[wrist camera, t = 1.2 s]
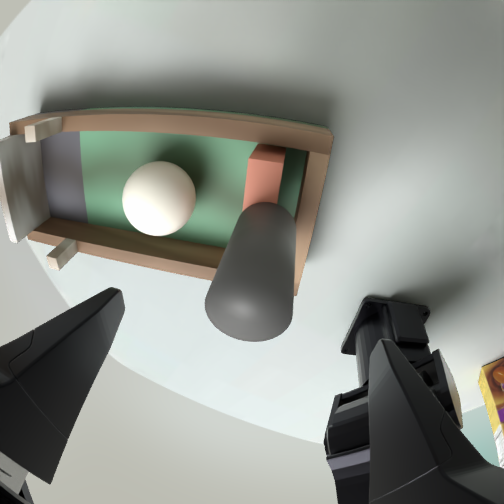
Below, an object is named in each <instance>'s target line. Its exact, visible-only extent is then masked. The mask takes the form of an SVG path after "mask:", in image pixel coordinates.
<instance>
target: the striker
mask: <svg viewBox="0 0 504 504" xmlns="http://www.w3.org/2000/svg"><path fill="white" fill-rule="evenodd" d="M285 153H286V148H285V147H279V146H273V145H266V144H260V143H258V144H257V146H256V147H255V149H254V151H253V152H252V154H251V155H250V157H249V159H248V167H247V175H246V184H245V192H244V201H243V210H242V213H241V214H240V216H239V218H238V221H237V223H236V225H235V228H234V230H233V232H232V235H231V237H230V240H229V242H228V244H227V247H226V249H225V252H224V254H223V256H222V259H221V261H220V264H219V266H218V268H217V271H216V273H215V276H214V278H213V281H212V283H211V286H210V288H209V291H208V293H207V295H206V299H205V310H206V313H207V316H208V318H209V319H210V321H211V322H212V323H213V325H214V326H215V327H216V328H218V329H219V330H220V331H221V332H223V333H225V334H226V335H228V336H230V337H233V338H236V339H239V340H243V341H251V342H258V341H266V340H270V339H272V338H275V337H277V336H279V335H280V334H282V333H283V332H284V331H285V330H286V329H287V328H288V326H289V325H290V323H291V320H292V315H293V298H294V278H295V255H296V224H295V221H294V219H293V217H292V215H291V214H290V213H289V212H288V211H287V210H286V209H285V208H283V207H282V206H280V205H278V204H277V201H278V195H279V189H280V183H281V177H282V171H283V165H284V159H285Z"/></svg>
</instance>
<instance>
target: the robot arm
mask: <svg viewBox="0 0 504 504" xmlns="http://www.w3.org/2000/svg"><path fill="white" fill-rule="evenodd" d="M366 304H369V305H366ZM124 311H125V305H124V300H123V295H122V291H121V290H120V289H117V288H113V287H110V288H108V289H106V290H104V291H102V292H100V293H98V294H97V295H95V296H93V297H91V298H89V299H87V300H86V301H84V302H82V303H80V304H78V305H76V306H75V307H73V308H71V309H69V310H67V311H66V312H64V313H62V314H60V315H58V316H56V317H55V318H53V319H51V320H49V321H47V322H46V323H44V324H42V325H40V326H39V327H37V328H35V330H32V331H30V332H28V333H26V334H24V335H23V336H21V337H19V338H17V339H15V340H13V341H11V342H9V343H7V344H5V345H3V346H1V347H0V504H34V503H33V500H32V497H31V495H30V492H29V489H28V486H27V483H26V480H25V478H26V476H27V474H28V472H30V473H32V474H33V475H35V476H36V477H38V478H40V479H41V480H43V481H45V482H46V483H48V484H51V482H52V480H53V477H54V474H55V471H56V469H57V466H58V464H59V461H60V458H61V456H62V453H63V451H64V448H65V446H66V444H67V441H68V438H69V436H70V433H71V431H72V429H73V426H74V424H75V422H76V419H77V417H78V415H79V413H80V410H81V408H82V406H83V404H84V402H85V399H86V397H87V395H88V393H89V391H90V388H91V387H92V384H93V382H94V380H95V378H96V376H97V374H98V372H99V370H100V368H101V366H102V364H103V362H104V360H105V358H106V356H107V354H108V352H109V350H110V348H111V345H112V343H113V340H114V338H115V335H116V332H117V330H118V327H119V325H120V322H121V320H122V317H123V315H124ZM424 312H425V313H424ZM429 315H430V309H429V307H427V306H420V305H414V304H407V303H400V302H394V301H386V300H380V299H373V298H366V299H364V300H363V301H362V303H361V305H360V307H359V310H358V312H357V314H356V316H355V318H354V321H353V323H352V325H351V327H350V329H349V331H348V333H347V335H346V338H345V340H344V342H343V344H342V346H341V352H342V353H343V354H349V355H356V359H357V368H358V377H359V388H357V389H354V390H352V391H349V392H347V393H344V394H342V393H341V394H338V395H336V396H335V398H334V402H333V406H332V410H331V414H330V417H329V421H328V425H327V429H326V432H325V438H324V445H325V451H326V455H327V457H326V459H327V462H328V464H329V466H330V468H331V470H332V473H333V476H334V479H335V485H336V492H337V499H338V504H504V468H501V467H497V466H494V465H492V464H490V463H489V462H487V461H486V460H485V459H484V458H483V457H482V456H481V455H480V453H479V452H478V451H477V450H476V449H475V447H474V446H473V445H472V444H471V443H470V441H469V440H468V439H467V438H466V437H465V436H464V434H463V433H462V432H461V431H460V429H462V428H463V423H462V413H461V404H460V398H459V394H458V391H457V388H456V385H455V382H454V379H453V376H452V374H451V372H450V370H449V368H448V366H447V364H446V362H445V360H444V358H443V356H442V354H441V352H440V350H439V349H437V350H435V351H433V352H432V354H431V352H430V349H429V346H428V343H429V339H428V336H427V333H426V330H425V327H424V323H425V322H426V320H427V318H428V317H429Z"/></svg>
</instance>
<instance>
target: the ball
mask: <svg viewBox="0 0 504 504" xmlns="http://www.w3.org/2000/svg"><path fill="white" fill-rule="evenodd" d="M122 203H123V209H124V212H125V215H126V217H127V219H128V220H129V222H130V223H131V224H132V225H133V226H134V227H135V228H136V229H138V230H139V231H141V232H143V233H145V234H148V235H153V236H163V235H168V234H171V233H173V232H176V231H177V230H179V229H180V228H182V227H183V226H184V225H185V224H186V223H187V221H188V220H189V219H190V217H191V215H192V213H193V211H194V207H195V203H196V192H195V187H194V184H193V182H192V180H191V178H190V177H189V175H188V174H187V173H186V172H185V171H184V170H183V169H182V168H181V167H179V166H177V165H175V164H173V163H170V162H165V161H155V162H150V163H147V164H145V165H143V166H141V167H139V168H138V169H137V170H136V171H134V172H133V173H132V175H131V176H130V177H129V179H128V180H127V182H126V184H125V187H124V190H123V196H122Z"/></svg>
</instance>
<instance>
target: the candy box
mask: <svg viewBox="0 0 504 504" xmlns="http://www.w3.org/2000/svg"><path fill="white" fill-rule="evenodd" d="M478 383H479V386H480V389H481V392H482V395H483V398H484V402H485V405H486V408H487V411H488V415H489V419H490V423H491V426H492V430H493V435H494V439H495V443H496V448H497V453H498V458H499V463H500V467H501V468H504V358H502V359H500V360H497V361H495V362H493V363H491V364H488V365H485V366H483V367H482V369H481V373H480V377H479V381H478Z"/></svg>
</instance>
